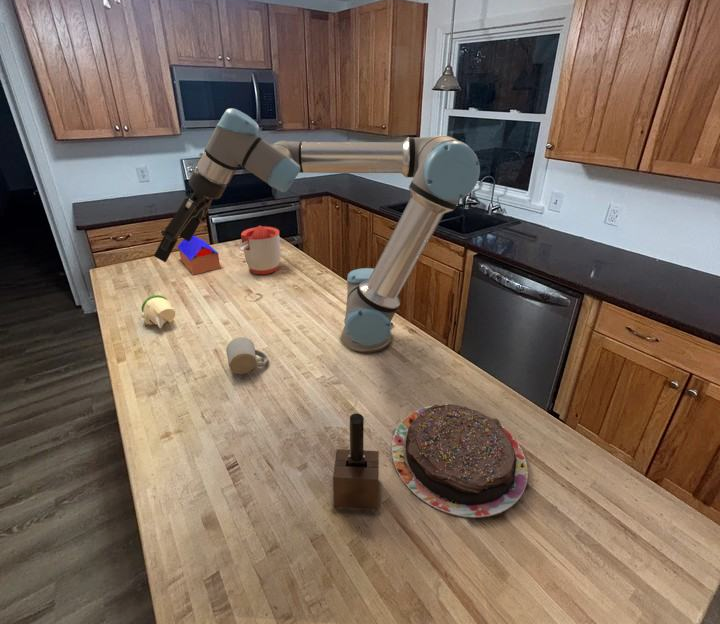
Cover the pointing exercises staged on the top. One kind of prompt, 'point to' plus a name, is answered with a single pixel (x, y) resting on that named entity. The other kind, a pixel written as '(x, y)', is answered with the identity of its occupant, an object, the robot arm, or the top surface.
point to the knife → (356, 441)
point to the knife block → (356, 481)
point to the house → (198, 256)
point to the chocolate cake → (460, 461)
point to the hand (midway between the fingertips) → (173, 248)
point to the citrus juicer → (261, 249)
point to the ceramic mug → (243, 356)
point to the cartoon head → (157, 310)
